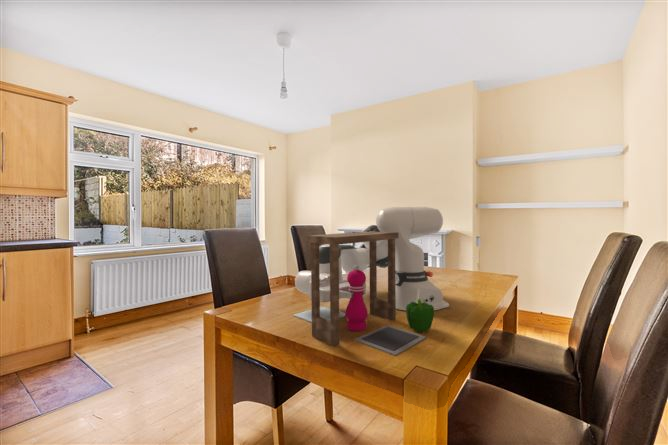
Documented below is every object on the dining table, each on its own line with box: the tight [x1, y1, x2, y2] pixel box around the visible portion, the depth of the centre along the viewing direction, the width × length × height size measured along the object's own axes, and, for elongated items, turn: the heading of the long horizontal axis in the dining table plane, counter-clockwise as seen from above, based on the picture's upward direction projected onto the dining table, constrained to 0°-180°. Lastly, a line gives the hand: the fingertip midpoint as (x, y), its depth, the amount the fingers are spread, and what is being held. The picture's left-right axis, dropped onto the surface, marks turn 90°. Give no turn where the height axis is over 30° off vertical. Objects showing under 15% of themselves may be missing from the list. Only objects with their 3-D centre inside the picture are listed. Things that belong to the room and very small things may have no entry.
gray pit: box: [353, 324, 427, 357], centre depth 88 cm, size 14×16×1 cm
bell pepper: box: [405, 299, 435, 333], centre depth 95 cm, size 8×8×10 cm
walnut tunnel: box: [306, 231, 399, 347], centre depth 97 cm, size 12×30×30 cm, turn 135°
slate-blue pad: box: [292, 305, 346, 324], centre depth 110 cm, size 14×14×1 cm
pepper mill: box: [344, 265, 369, 332], centre depth 97 cm, size 7×7×20 cm
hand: (358, 293), depth 97 cm, fingers closed on pepper mill, 5 cm apart
